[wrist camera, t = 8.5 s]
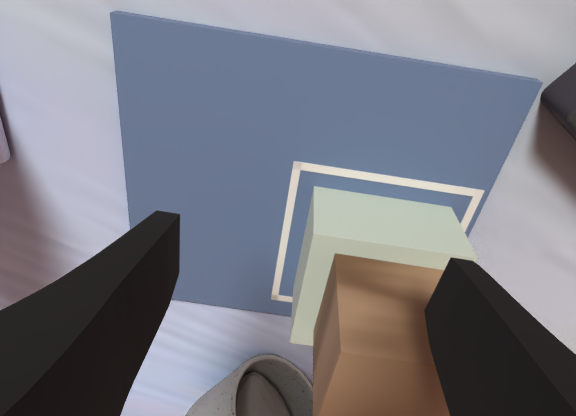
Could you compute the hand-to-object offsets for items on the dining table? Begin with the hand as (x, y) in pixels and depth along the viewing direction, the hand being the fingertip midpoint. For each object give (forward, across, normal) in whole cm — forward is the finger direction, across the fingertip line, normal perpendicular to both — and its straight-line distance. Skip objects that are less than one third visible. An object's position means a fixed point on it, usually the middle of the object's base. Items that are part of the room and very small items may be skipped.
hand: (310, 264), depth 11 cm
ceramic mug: (+10, -1, +21) cm, 23 cm away
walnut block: (+5, -4, +6) cm, 9 cm away
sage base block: (+9, -4, +6) cm, 12 cm away
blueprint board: (+10, 0, +4) cm, 11 cm away
